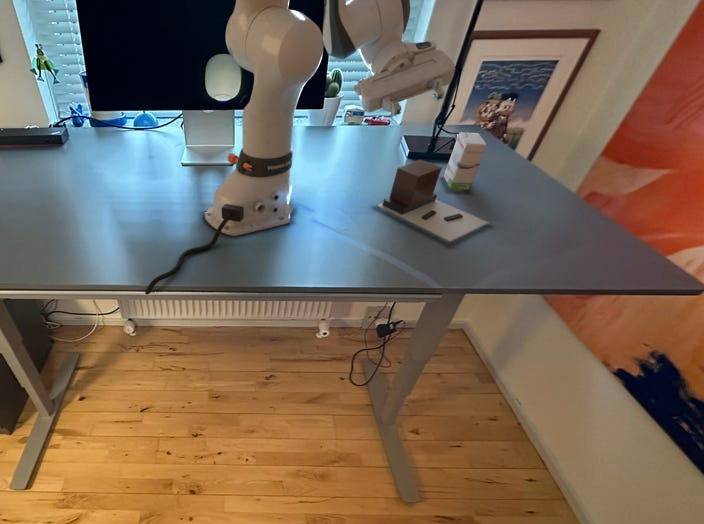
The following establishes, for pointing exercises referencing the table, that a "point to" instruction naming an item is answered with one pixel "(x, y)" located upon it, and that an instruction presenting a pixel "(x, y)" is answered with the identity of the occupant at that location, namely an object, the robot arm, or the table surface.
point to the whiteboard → (442, 220)
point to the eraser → (413, 187)
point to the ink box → (464, 160)
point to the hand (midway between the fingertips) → (418, 104)
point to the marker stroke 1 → (428, 215)
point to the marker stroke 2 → (453, 217)
